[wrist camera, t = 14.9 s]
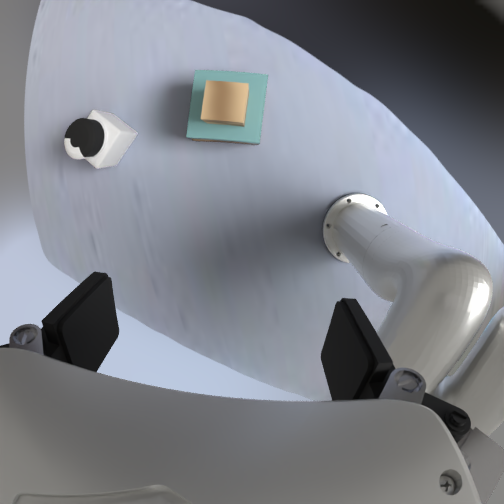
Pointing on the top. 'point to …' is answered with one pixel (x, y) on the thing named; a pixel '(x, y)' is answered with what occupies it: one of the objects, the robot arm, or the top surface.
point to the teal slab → (228, 132)
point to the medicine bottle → (99, 139)
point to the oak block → (225, 103)
